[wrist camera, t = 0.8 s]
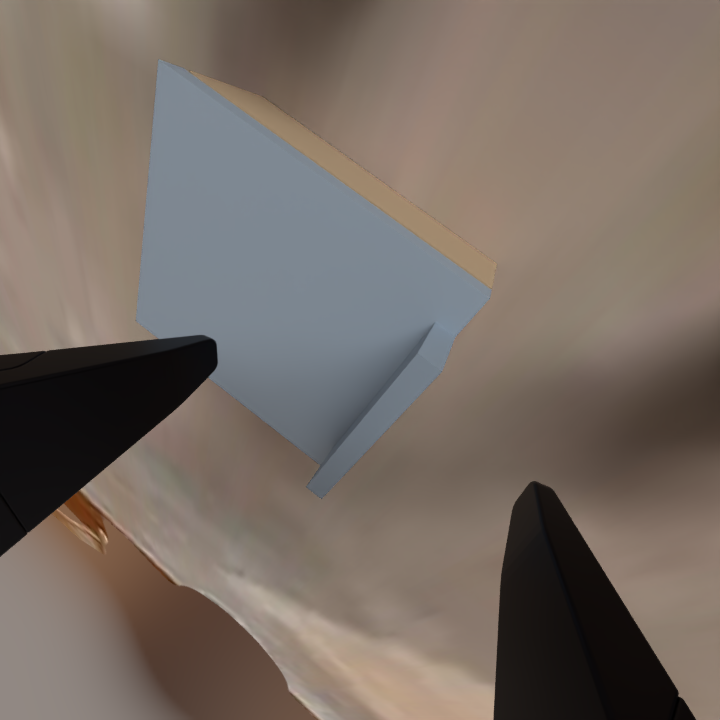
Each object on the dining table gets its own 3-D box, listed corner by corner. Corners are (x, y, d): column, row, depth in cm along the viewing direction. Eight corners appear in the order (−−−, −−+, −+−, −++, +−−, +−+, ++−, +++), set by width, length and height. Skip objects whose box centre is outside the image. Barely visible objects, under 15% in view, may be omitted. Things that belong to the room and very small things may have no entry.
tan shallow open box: (497, 264, 17) (491, 287, 13) (369, 414, 25) (342, 458, 21) (262, 96, 18) (189, 70, 14) (212, 293, 26) (156, 313, 22)
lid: (491, 289, 13) (483, 327, 9) (340, 461, 21) (306, 514, 18) (183, 68, 14) (74, 29, 10) (152, 314, 22) (86, 338, 18)
